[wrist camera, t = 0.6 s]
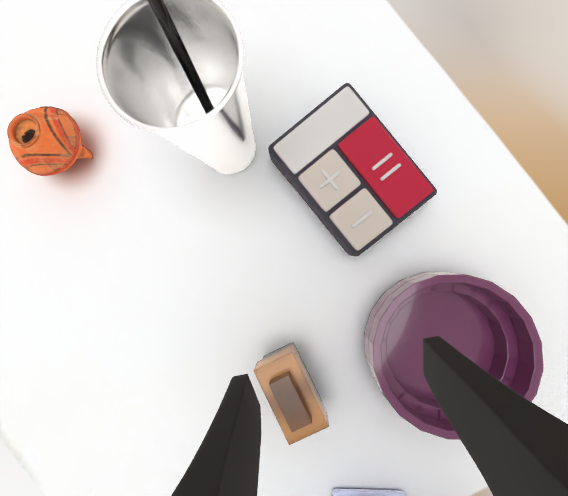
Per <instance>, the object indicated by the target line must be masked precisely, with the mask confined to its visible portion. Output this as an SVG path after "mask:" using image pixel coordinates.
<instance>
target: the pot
mask: <svg viewBox="0 0 568 496" xmlns="http://www.w3.org/2000/svg"><path fill="white" fill-rule="evenodd" d="M7 133H8V138H9V145H10V148H11V151H12V153H13V155H14V157H15V158H16V160H17V161H18V162H19V163H20V164H21V165H22V166H23V167H24V168H25V169H27V170H28V171H30V172H31V173H34V174H37V175H41V176H47V175H55V174H58V173H61V172H63V171H65V170H67V169H69V168H70V167H71V166H72V165H73V164H74V163H75V161H76V159H78V158H89V159H92V158H93V155H92V153H91V152H90V151H89V150H87V149H86V148H85V147H83V146H82V144H81V135H80V130H79V128H78V125H77V124H76V122H75V120H74V119H73V118H72V117H71V116H70V115H69V114H68V113H67V112H66V111H64V110H62V109H59V108H55V107H40V108H36V109H32V110H29V111H27V112H25V113H23V114H19V115H17V116H16V117H15V118H14V119H13V120H12V121H11V122H10V124H9V126H8V130H7Z"/></svg>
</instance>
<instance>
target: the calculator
mask: <svg viewBox="0 0 568 496" xmlns="http://www.w3.org/2000/svg"><path fill="white" fill-rule="evenodd" d="M269 153H270V157H271V160H272V162H273V163H274V164H275V165H276V167H277V168H278V169H279V170H280V171H281V173H282V174H283V175H284V176H285V178H286V179H287V180H288V181H289V183H290V184H291V185H292V186H293V187H294V188H295V189H296V190H297V191H298V193H299V194H300V195H301V196H302V198H303V199H304V200H305V201H306V203H307V204H308V205H309V206H310V208H311V209H312V210H313V211H314V213H315V214H316V215H317V216H318V217H319V219H320V220H321V221H322V222H323V224H324V225H325V226H326V227H327V229H328V230H329V231H330V232H331V234H332V235H333V236H334V237H335V239H336V240H337V241H338V242H339V243H340V245H341V246H342V247H343V248H344V250H345V251H346V252H347V253H348V254H349V255H351V256H359V255H360V254H361V253H363V252H364V251H365V250H366V249H368V248H369V247H370V246H371V245H373V244H374V243H375V242H377V241H378V240H379V239H380V238H382V237H383V236H384V235H385V234H387V233H388V232H389V231H390V230H392V229H393V228H394V227H395V226H397V225H398V224H399V223H400V222H402V221H403V220H404V219H406V218H407V217H408V216H409V215H411V214H412V213H413V212H414V211H416V210H417V209H418V208H419V207H421V206H422V205H423V204H424V203H426V202H427V201H428V200H429V199H431V198H432V197H433V196H434V195H436V193H437V190H436V188H435V187H434V186H433V185H432V183H431V182H430V181H429V180H428V178H427V177H426V176H425V175H424V174H423V172H422V171H421V170H420V169H419V167H418V166H417V165H416V164H415V163H414V161H413V160H412V159H411V158H410V156H409V155H408V154H407V153H406V152H405V150H404V149H403V148H402V147H401V145H400V144H399V143H398V142H397V141H396V139H395V138H394V137H393V136H392V135H391V133H390V132H389V131H388V130H387V128H386V127H385V126H384V125H383V124H382V122H381V121H380V120H379V119H378V117H377V116H376V115H375V114H374V113H373V111H372V110H371V109H370V108H369V106H368V105H367V104H366V103H365V102H364V100H363V99H362V98H361V97H360V95H359V94H358V93H357V92H356V91H355V89H354V88H353V87H352V86H351V85H350V84H349V83H346V84H344V85H343V86H341V87H340V88H339V89H338V90H337V91H335V92H334V93H333V94H332V95H331V96H329V97H328V98H327V99H326V100H324V101H323V102H322V103H321V104H320V105H318V106H317V107H316V108H315V109H313V110H312V111H311V112H310V113H309V114H307V115H306V116H305V117H304V118H303V119H301V120H300V121H299V122H298V123H296V124H295V125H294V126H293V127H292V128H290V129H289V130H288V131H287V132H286V133H284V134H283V135H282V136H281V137H279V138H278V139H277V140H276V141H275V142H273V143H272V144H271V145H270V146H269Z"/></svg>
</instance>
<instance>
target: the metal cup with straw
mask: <svg viewBox="0 0 568 496" xmlns="http://www.w3.org/2000/svg"><path fill="white" fill-rule="evenodd" d="M243 67H244V44H243V39H242V35H241V31H240V29H239V26H238V24H237V22H236V20H235V18H234V16H233V15H232V13H231V12H230V10H229V9H228V8H227V7H226V6H225V5H224V4H223V3H222V2H221V1H220V0H128V1H127V2H126V3H124V4H123V5H122V6H121V7H120V8H119V9H118V10H117V11H116V13H115V14H114V15H113V16H112V18H111V19H110V21H109V22H108V24H107V26H106V27H105V29H104V32H103V34H102V36H101V39H100V43H99V47H98V52H97V75H98V80H99V84H100V87H101V89H102V92H103V94H104V96H105V98H106V100H107V101H108V103H109V104H110V106H111V107H112V108H113V109H114V110H115V112H116V113H117V114H118V115H120V116H121V117H122V118H123V119H124V120H126V121H127V122H129V123H130V124H132V125H134V126H136V127H138V128H140V129H143V130H146V131H149V132H154V133H158V134H159V135H161V136H162V137H164V138H165V139H167V140H169V141H170V142H172V143H173V144H175V145H176V146H178V147H180V148H181V149H183V150H184V151H186V152H187V153H189V154H190V155H192V156H194V157H196V158H198V159H200V160H201V161H203V162H204V163H206V164H207V165H209V166H210V167H211V168H213V169H214V170H215V171H217V172H219V173H223V174H235V173H238V172H241V171H242V170H244V169H245V168H247V167H248V166H249V164H250V163H251V162H252V160H253V158H254V156H255V152H256V142H255V138H254V134H253V130H252V125H251V117H250V110H249V105H248V100H247V94H246V89H245V84H244V78H243V73H242V72H243Z"/></svg>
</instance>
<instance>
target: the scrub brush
mask: <svg viewBox="0 0 568 496" xmlns="http://www.w3.org/2000/svg"><path fill="white" fill-rule="evenodd" d="M254 373H255V375H256V377H257V379H258V381H259V383H260V385H261V387H262V390H263V392H264V394H265V396H266V398H267V400H268V402H269V404H270V406H271V408H272V410H273V412H274V414H275V417H276V419H277V421H278V423H279V425H280V427H281V429H282V431H283V433H284V435H285V437H286V439H287V442H288V444H289V445H291V444H293V443H295V442H297V441H299V440H301V439H303V438H305V437H308V436H310V435H312V434H314V433H316V432H318V431H320V430H323V429H325V428H327V427H329V423H328V417H327V412H326V410H325V408H324V406H323V404H322V400H321V398H320V396H319V394H318V392H317V390H316V388H315V386H314V384H313V382H312V380H311V378H310V376H309V374H308V372H307V370H306V368H305V366H304V364H303V362H302V360H301V358H300V356H299V354H298V352H297V349H296V347H295V345H294V343H293V342H292V343H290V344H288V345H286V346H284V347H282V348H280V349H278V350H276V351H274V352H272V353H270V354H268V355H265V356H264V357H263V360H261V361H259V362H257V364H256V367H255V369H254Z"/></svg>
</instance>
